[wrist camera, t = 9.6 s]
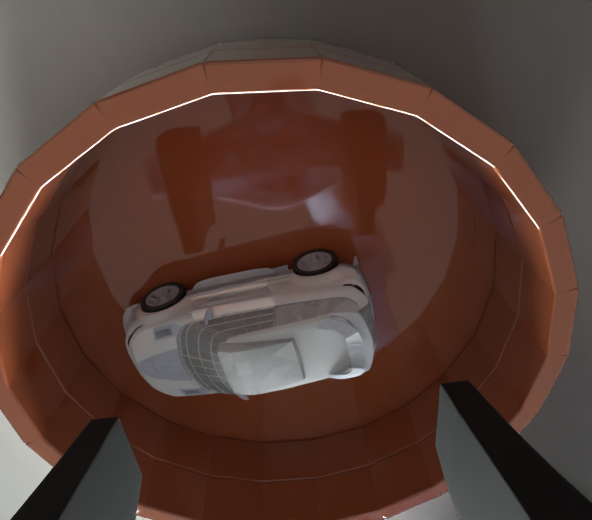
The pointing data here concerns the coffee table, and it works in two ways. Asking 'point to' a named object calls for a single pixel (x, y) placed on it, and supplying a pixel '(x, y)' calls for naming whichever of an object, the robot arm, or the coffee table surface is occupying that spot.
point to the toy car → (255, 329)
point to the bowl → (275, 253)
